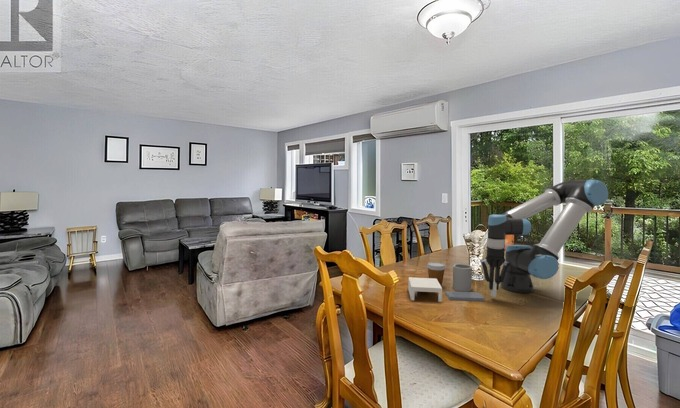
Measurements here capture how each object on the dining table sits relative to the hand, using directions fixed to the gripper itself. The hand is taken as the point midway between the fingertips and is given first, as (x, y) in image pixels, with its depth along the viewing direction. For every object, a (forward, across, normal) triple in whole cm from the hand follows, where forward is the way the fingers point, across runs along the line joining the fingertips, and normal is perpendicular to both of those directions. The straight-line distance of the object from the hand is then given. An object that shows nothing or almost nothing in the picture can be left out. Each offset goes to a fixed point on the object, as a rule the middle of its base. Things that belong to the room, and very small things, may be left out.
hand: (493, 296), depth 152 cm
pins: (+2, +37, 0) cm, 37 cm away
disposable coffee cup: (+2, +24, -15) cm, 29 cm away
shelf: (+2, +32, 0) cm, 32 cm away
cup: (+2, +11, -13) cm, 17 cm away
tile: (+2, +13, 0) cm, 13 cm away
